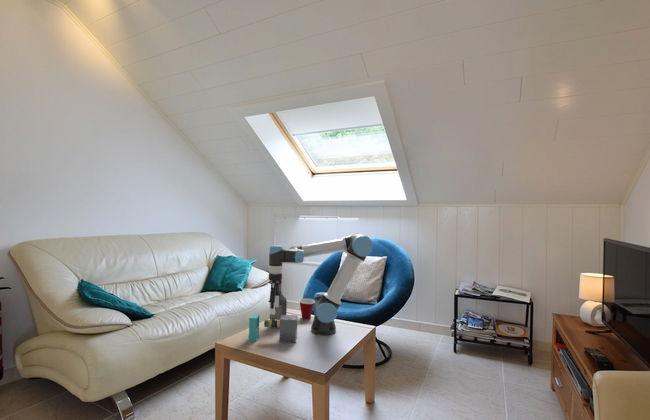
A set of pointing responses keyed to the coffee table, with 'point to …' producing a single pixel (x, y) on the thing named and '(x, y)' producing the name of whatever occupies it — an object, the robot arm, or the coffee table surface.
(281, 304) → the liquor
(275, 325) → the brass tube
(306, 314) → the plastic cup
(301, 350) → the coffee table surface
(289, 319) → the grey matte cuboid
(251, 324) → the socket
